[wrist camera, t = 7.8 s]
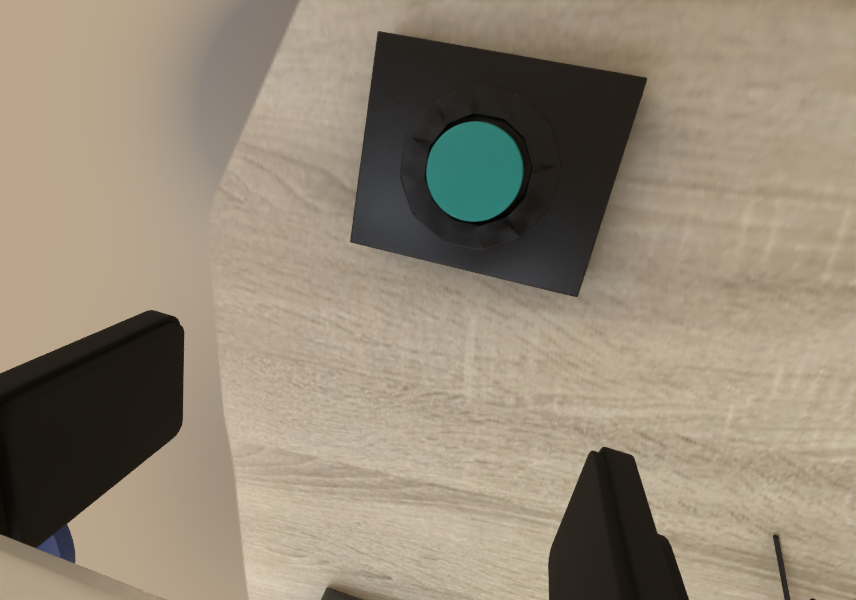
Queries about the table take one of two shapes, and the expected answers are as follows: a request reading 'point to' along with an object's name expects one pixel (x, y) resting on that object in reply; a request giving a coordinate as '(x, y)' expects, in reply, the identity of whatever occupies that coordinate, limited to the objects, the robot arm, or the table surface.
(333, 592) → the base
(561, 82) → the control block
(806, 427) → the table surface
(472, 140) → the button
